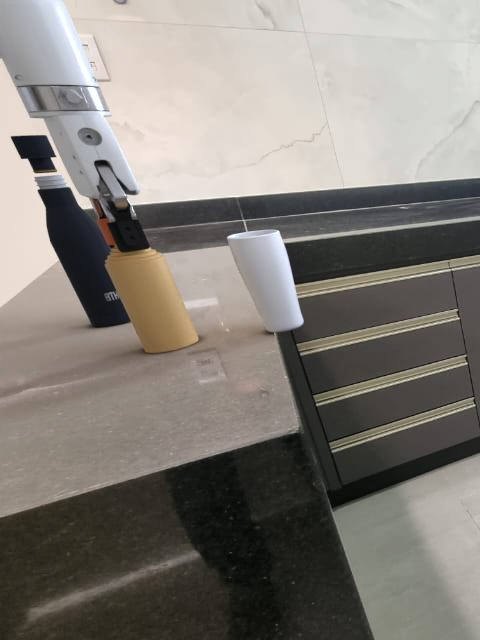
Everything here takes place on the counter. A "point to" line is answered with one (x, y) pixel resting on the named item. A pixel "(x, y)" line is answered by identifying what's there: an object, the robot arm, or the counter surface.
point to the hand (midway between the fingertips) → (130, 247)
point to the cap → (106, 231)
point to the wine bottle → (74, 237)
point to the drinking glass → (267, 278)
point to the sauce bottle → (151, 299)
